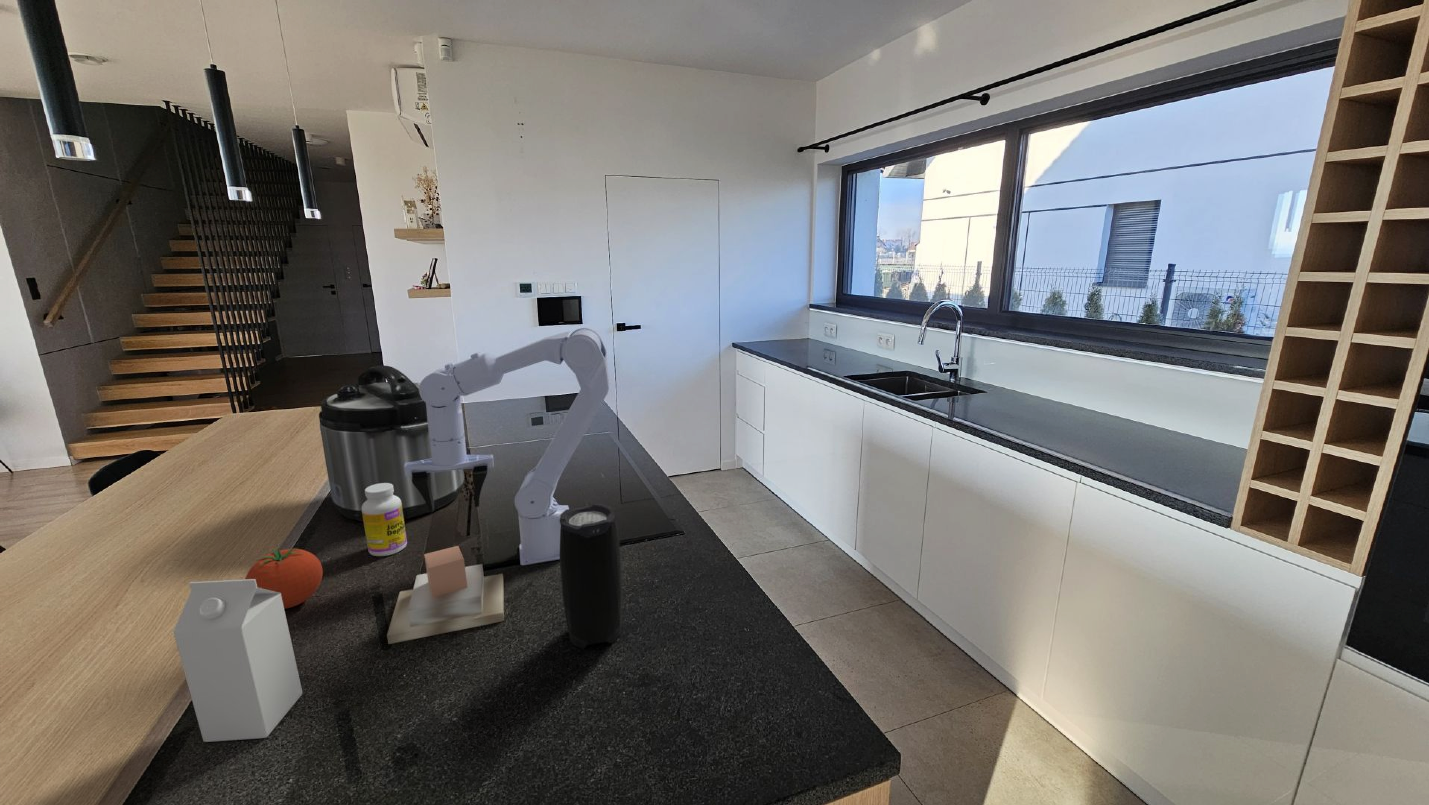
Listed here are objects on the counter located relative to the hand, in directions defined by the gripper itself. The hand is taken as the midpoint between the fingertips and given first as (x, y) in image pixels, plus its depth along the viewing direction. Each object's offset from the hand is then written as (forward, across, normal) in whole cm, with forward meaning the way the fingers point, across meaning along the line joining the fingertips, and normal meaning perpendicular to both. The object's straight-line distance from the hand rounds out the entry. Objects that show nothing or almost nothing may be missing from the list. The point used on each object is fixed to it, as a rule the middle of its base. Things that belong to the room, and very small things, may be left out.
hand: (454, 507), depth 106 cm
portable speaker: (+10, -21, +31) cm, 39 cm away
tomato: (+11, +25, +6) cm, 28 cm away
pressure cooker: (+11, +13, -34) cm, 38 cm away
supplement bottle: (+11, +13, -9) cm, 19 cm away
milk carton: (+11, +21, +33) cm, 41 cm away
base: (+10, 0, +17) cm, 20 cm away
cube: (+6, 0, +17) cm, 18 cm away
